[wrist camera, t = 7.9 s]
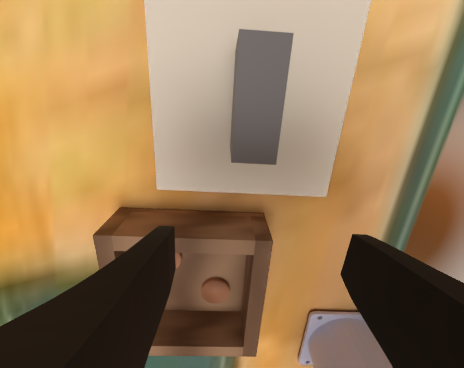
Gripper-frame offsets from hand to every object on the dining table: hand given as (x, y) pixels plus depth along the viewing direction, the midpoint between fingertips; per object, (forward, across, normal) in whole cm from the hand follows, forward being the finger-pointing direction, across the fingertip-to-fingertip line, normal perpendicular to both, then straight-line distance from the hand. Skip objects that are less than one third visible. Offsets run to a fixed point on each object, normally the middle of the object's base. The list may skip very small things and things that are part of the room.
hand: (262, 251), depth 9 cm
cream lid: (+9, 0, -6) cm, 11 cm away
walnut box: (+9, +4, +9) cm, 14 cm away
